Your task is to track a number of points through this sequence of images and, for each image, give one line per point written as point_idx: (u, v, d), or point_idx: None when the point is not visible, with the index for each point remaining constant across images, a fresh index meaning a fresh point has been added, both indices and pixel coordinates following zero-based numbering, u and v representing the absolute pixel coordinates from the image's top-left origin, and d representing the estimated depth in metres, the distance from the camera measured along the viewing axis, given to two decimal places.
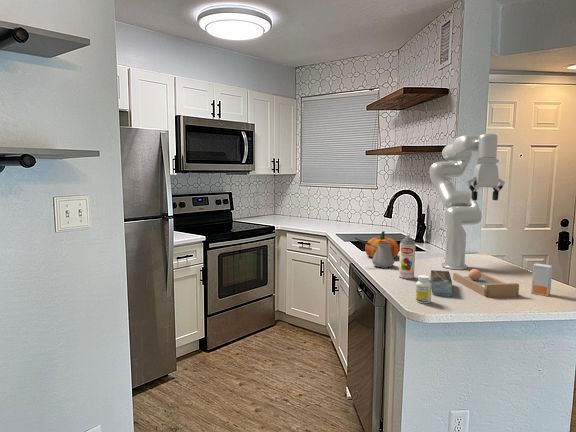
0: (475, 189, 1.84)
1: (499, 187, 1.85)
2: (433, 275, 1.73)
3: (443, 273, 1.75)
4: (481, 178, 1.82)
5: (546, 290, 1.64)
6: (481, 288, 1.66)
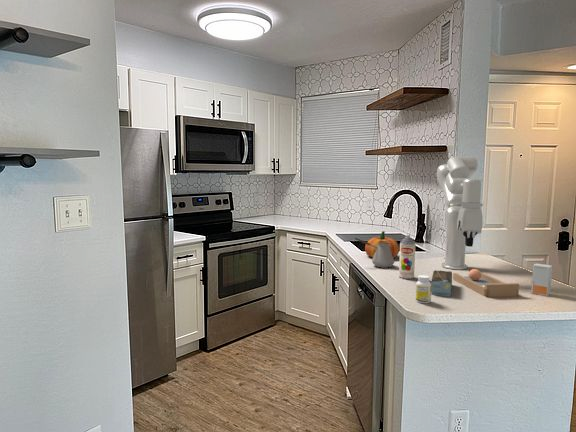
0: (468, 235, 1.87)
1: None
2: (434, 275, 1.74)
3: (445, 273, 1.75)
4: (465, 222, 1.85)
5: (546, 290, 1.64)
6: (481, 288, 1.66)
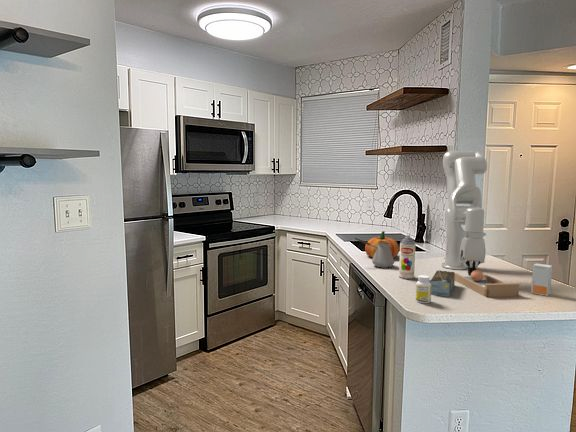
0: (471, 265, 1.84)
1: None
2: (435, 275, 1.74)
3: (446, 274, 1.74)
4: (468, 252, 1.82)
5: (546, 290, 1.64)
6: (481, 288, 1.66)
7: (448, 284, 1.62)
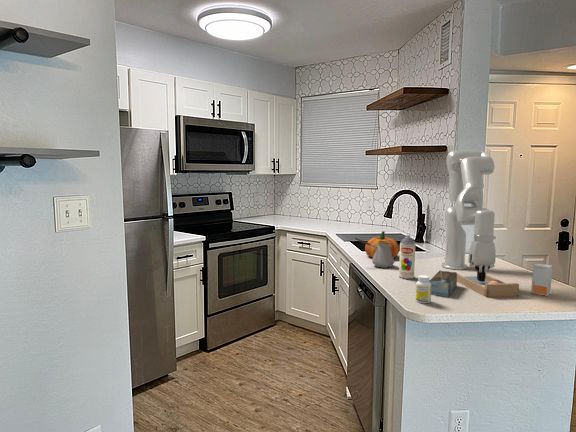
0: (480, 270, 1.76)
1: None
2: (436, 275, 1.74)
3: (448, 274, 1.74)
4: (477, 256, 1.74)
5: (546, 290, 1.64)
6: (481, 288, 1.66)
7: (447, 284, 1.62)
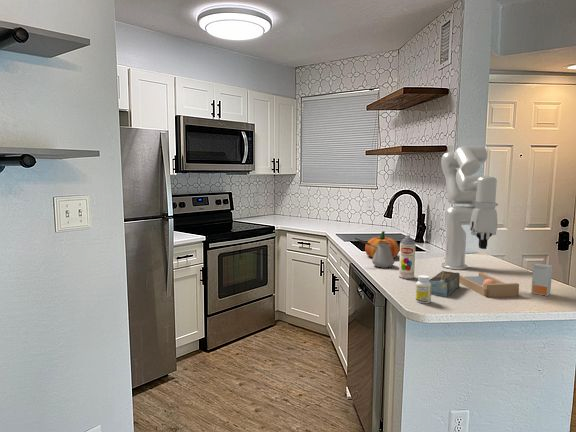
0: (482, 237, 1.75)
1: None
2: (437, 275, 1.74)
3: (449, 274, 1.73)
4: (479, 223, 1.73)
5: (546, 290, 1.64)
6: (481, 288, 1.66)
7: (445, 284, 1.62)
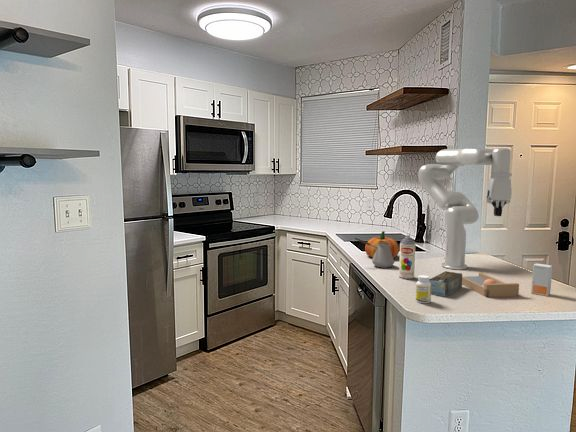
0: (497, 205, 1.88)
1: None
2: (438, 275, 1.74)
3: (451, 275, 1.73)
4: (494, 192, 1.86)
5: (546, 290, 1.64)
6: (481, 288, 1.66)
7: (444, 284, 1.62)
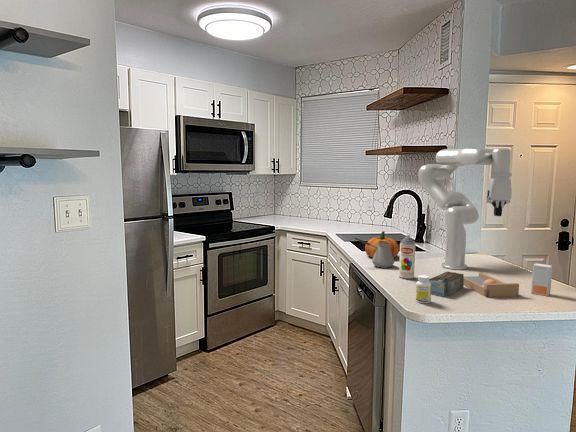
0: (497, 205, 1.88)
1: None
2: (439, 275, 1.73)
3: (451, 275, 1.73)
4: (494, 192, 1.86)
5: (546, 290, 1.64)
6: (481, 288, 1.66)
7: (443, 284, 1.62)
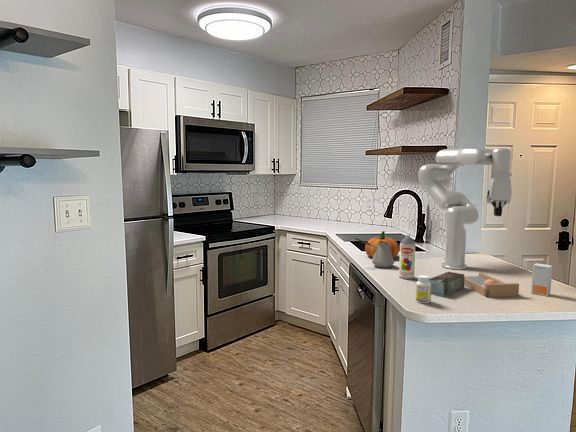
0: (497, 205, 1.88)
1: None
2: (439, 275, 1.73)
3: (452, 275, 1.72)
4: (494, 192, 1.86)
5: (546, 290, 1.64)
6: (481, 288, 1.66)
7: (442, 284, 1.62)
